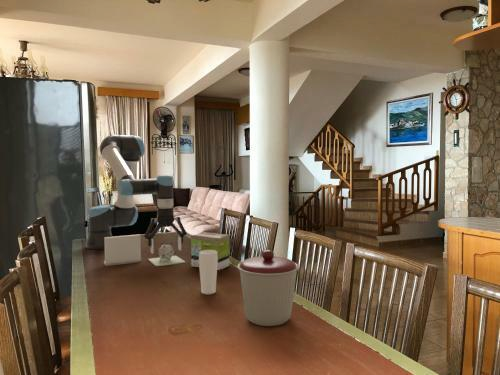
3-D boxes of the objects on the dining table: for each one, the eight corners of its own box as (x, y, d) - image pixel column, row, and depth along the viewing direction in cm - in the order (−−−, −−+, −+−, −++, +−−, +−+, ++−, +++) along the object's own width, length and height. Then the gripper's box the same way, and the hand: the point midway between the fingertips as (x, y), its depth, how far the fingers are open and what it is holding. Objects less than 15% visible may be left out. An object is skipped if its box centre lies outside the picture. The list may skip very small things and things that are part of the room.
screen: (103, 263, 187) (103, 236, 186) (138, 259, 194) (137, 233, 193) (105, 266, 181) (105, 238, 180) (140, 261, 189) (140, 235, 188)
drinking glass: (220, 290, 145) (220, 250, 144) (213, 296, 139) (212, 254, 138) (204, 288, 147) (203, 249, 147) (195, 294, 141) (195, 253, 140)
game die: (169, 266, 191) (181, 249, 193) (164, 264, 183) (177, 246, 185) (155, 256, 194) (167, 239, 196) (149, 254, 185) (162, 236, 187)
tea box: (190, 267, 179) (190, 234, 178) (203, 262, 188) (202, 231, 187) (218, 271, 172) (218, 237, 171) (230, 265, 181) (230, 234, 180)
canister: (262, 304, 131) (262, 241, 129) (310, 318, 119) (310, 249, 118) (225, 321, 117) (224, 251, 115) (275, 338, 105) (274, 260, 104)
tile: (148, 260, 192) (148, 258, 192) (175, 256, 199) (175, 255, 199) (155, 266, 180) (155, 265, 180) (185, 262, 187) (185, 261, 187)
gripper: (140, 209, 179) (141, 255, 180) (192, 206, 191) (193, 250, 192) (137, 208, 186) (138, 252, 187) (187, 205, 197) (188, 247, 199)
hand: (166, 251), depth 190 cm, fingers open, 13 cm apart
